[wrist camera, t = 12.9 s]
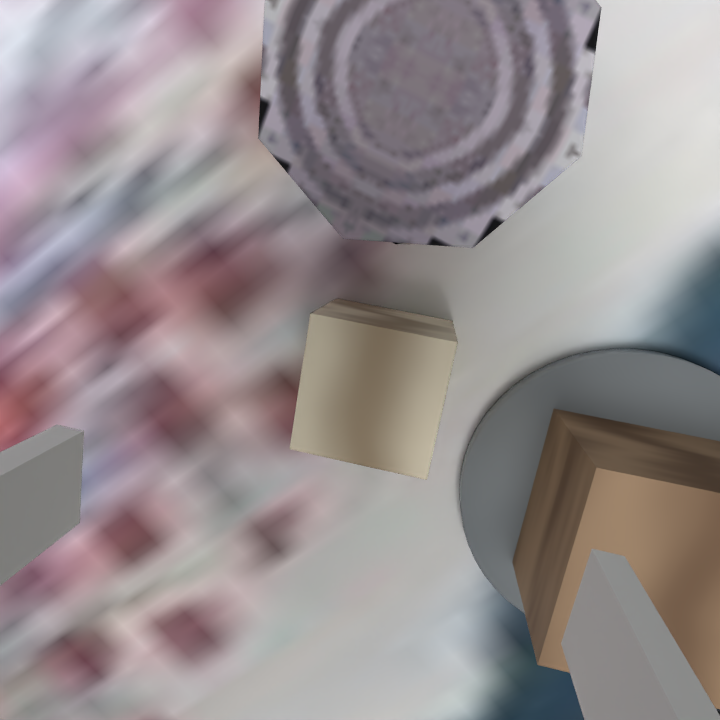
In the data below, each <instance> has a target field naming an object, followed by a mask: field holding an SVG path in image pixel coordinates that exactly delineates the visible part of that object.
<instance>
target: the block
mask: <svg viewBox="0 0 720 720" xmlns="http://www.w3.org/2000/svg"><path fill="white" fill-rule="evenodd" d="M591 549H596V550H600V551H605V552H609V553H613V554H617V555H622V556H625V558H626V559H627V561H628V563H629V564H630V566H631V568H632V569H633V571H634V573H635V574H636V576H637V578H638V579H639V581H640V583H641V584H642V586H643V588H644V589H645V591H646V593H647V594H648V596H649V598H650V599H651V601H652V603H653V604H654V606H655V608H656V609H657V611H658V613H659V615H660V616H661V618H662V620H663V621H664V623H665V625H666V626H667V628H668V630H669V631H670V633H671V635H672V636H673V638H674V640H675V641H676V643H677V645H678V646H679V648H680V650H681V651H682V653H683V655H684V656H685V658H686V660H687V661H688V663H689V665H690V666H691V668H692V670H693V671H694V673H695V675H696V676H697V678H698V680H699V682H700V683H701V685H702V687H703V688H704V690H705V692H706V693H707V695H708V697H709V698H710V700H711V702H712V703H713V705H714V707H715V708H717V709H720V441H716V440H711V439H706V438H701V437H696V436H691V435H686V434H681V433H676V432H671V431H665V430H660V429H655V428H650V427H645V426H640V425H635V424H630V423H625V422H620V421H615V420H610V419H604V418H599V417H594V416H589V415H584V414H579V413H574V412H569V411H564V410H559V409H553V413H552V416H551V420H550V424H549V427H548V431H547V435H546V439H545V442H544V446H543V450H542V453H541V457H540V461H539V465H538V468H537V472H536V476H535V479H534V483H533V487H532V491H531V494H530V498H529V502H528V505H527V509H526V513H525V517H524V520H523V524H522V528H521V531H520V535H519V539H518V543H517V546H516V550H515V554H514V557H513V561H512V563H513V567H514V571H515V575H516V579H517V583H518V587H519V591H520V595H521V599H522V603H523V607H524V612H525V616H526V620H527V624H528V628H529V632H530V636H531V640H532V644H533V648H534V652H535V656H536V660H537V664H538V665H541V666H545V667H549V668H553V669H557V670H561V671H565V672H569V673H570V671H569V668H568V664H567V661H566V658H565V655H564V652H563V648H562V645H561V642H562V639H563V636H564V633H565V630H566V626H567V623H568V620H569V617H570V614H571V611H572V608H573V605H574V602H575V599H576V596H577V593H578V589H579V586H580V583H581V580H582V577H583V574H584V571H585V568H586V565H587V562H588V559H589V556H590V553H591Z"/></svg>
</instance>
